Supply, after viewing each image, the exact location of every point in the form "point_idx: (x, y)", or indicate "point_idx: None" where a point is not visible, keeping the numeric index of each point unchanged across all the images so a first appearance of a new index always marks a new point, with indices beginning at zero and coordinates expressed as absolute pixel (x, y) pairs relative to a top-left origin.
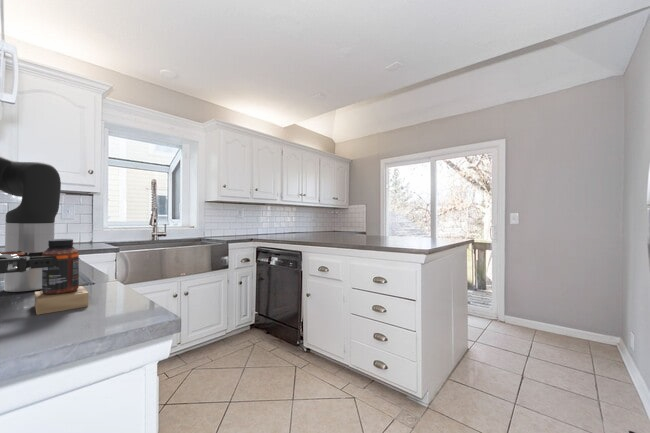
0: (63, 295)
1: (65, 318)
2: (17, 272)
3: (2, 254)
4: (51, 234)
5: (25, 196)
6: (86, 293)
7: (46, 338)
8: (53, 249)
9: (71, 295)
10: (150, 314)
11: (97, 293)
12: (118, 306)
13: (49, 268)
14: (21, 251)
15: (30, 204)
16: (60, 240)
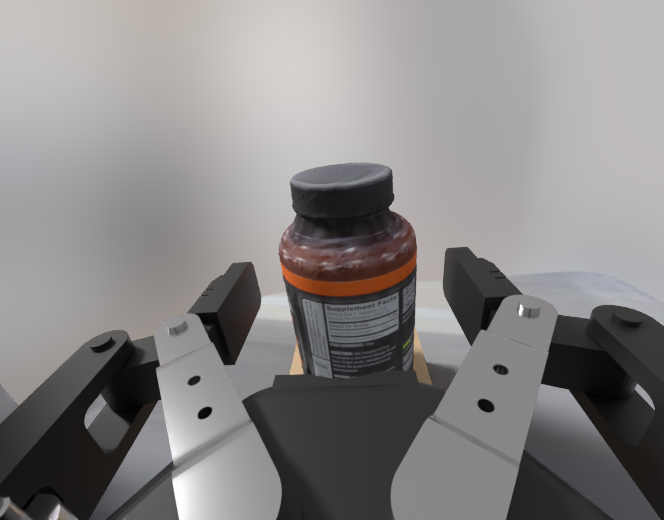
0: (420, 374)
1: (538, 412)
2: None
3: (478, 405)
4: None
5: None
6: (415, 331)
7: None
8: (387, 226)
9: (423, 359)
10: (558, 289)
11: (271, 333)
12: (453, 317)
13: (404, 318)
14: (104, 337)
15: None
16: (389, 170)
